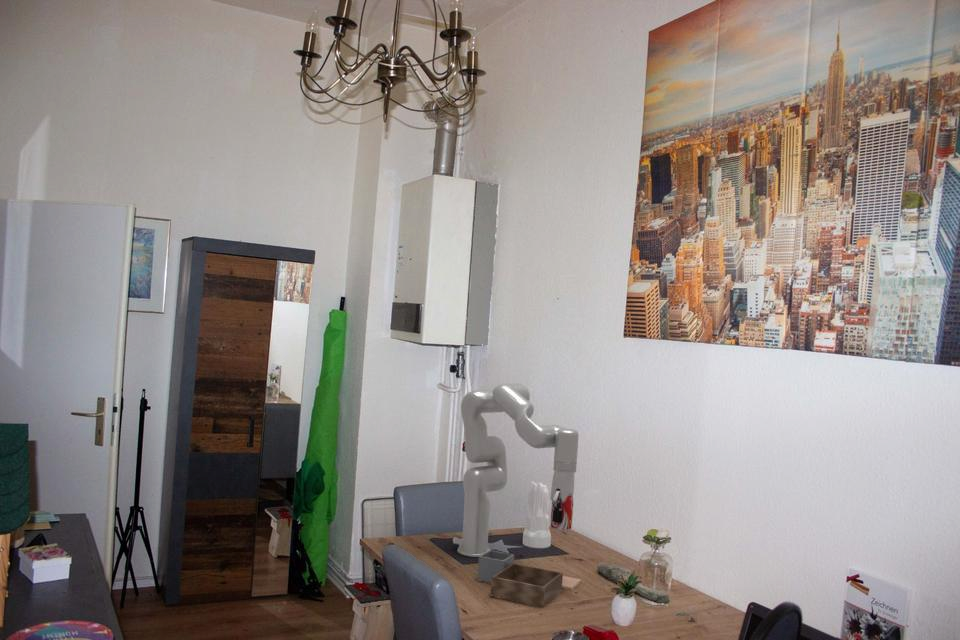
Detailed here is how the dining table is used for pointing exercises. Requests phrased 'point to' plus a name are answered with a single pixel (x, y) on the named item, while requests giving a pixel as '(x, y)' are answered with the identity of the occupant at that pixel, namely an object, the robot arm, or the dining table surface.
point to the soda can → (564, 515)
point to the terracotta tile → (570, 582)
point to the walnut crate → (527, 584)
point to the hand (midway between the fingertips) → (561, 519)
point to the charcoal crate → (493, 564)
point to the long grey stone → (614, 574)
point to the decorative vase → (537, 518)
